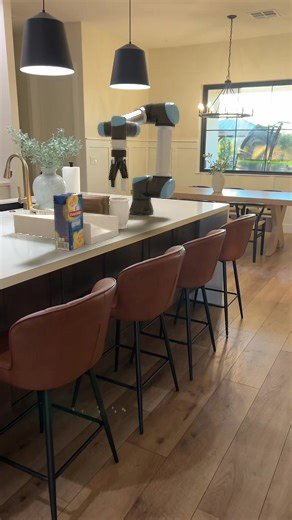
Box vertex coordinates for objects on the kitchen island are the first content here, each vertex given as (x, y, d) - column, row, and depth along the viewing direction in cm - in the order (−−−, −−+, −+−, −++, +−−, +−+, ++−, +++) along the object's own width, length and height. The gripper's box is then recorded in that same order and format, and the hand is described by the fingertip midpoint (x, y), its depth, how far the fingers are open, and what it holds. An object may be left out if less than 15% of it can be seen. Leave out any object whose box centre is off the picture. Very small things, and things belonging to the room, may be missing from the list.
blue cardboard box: (83, 245, 176) (82, 193, 170) (69, 251, 166) (67, 196, 160) (70, 243, 178) (68, 192, 172) (55, 249, 168) (53, 195, 162)
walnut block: (85, 222, 224) (85, 194, 220) (110, 224, 220) (109, 196, 216) (73, 227, 211) (72, 197, 207) (98, 229, 207) (98, 199, 203)
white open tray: (118, 236, 196) (118, 216, 193) (91, 245, 177) (90, 223, 174) (46, 226, 216) (45, 208, 213) (14, 233, 197) (13, 214, 195)
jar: (109, 225, 217) (108, 197, 212) (128, 225, 217) (128, 197, 213) (109, 230, 206) (108, 200, 202) (129, 230, 207) (129, 200, 203)
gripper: (121, 148, 214) (121, 189, 219) (101, 148, 191) (101, 194, 196) (134, 149, 211) (134, 190, 217) (116, 149, 188) (116, 195, 194)
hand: (118, 192), depth 207 cm, fingers open, 13 cm apart
